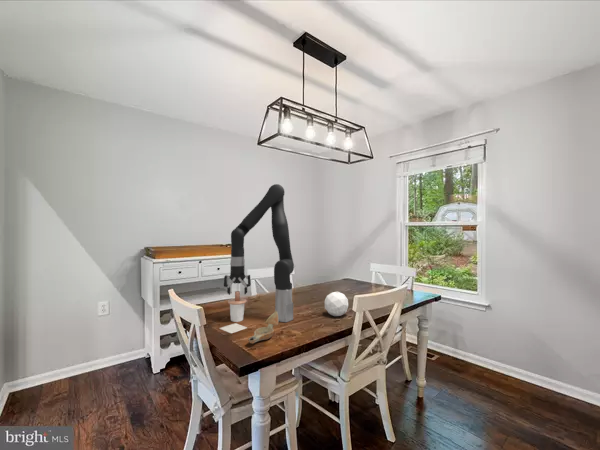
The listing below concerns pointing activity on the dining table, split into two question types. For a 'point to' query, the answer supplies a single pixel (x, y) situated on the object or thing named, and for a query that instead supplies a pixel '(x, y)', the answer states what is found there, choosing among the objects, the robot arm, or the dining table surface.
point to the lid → (237, 299)
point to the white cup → (236, 312)
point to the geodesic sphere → (336, 303)
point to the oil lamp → (265, 329)
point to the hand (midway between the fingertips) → (237, 294)
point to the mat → (233, 328)
